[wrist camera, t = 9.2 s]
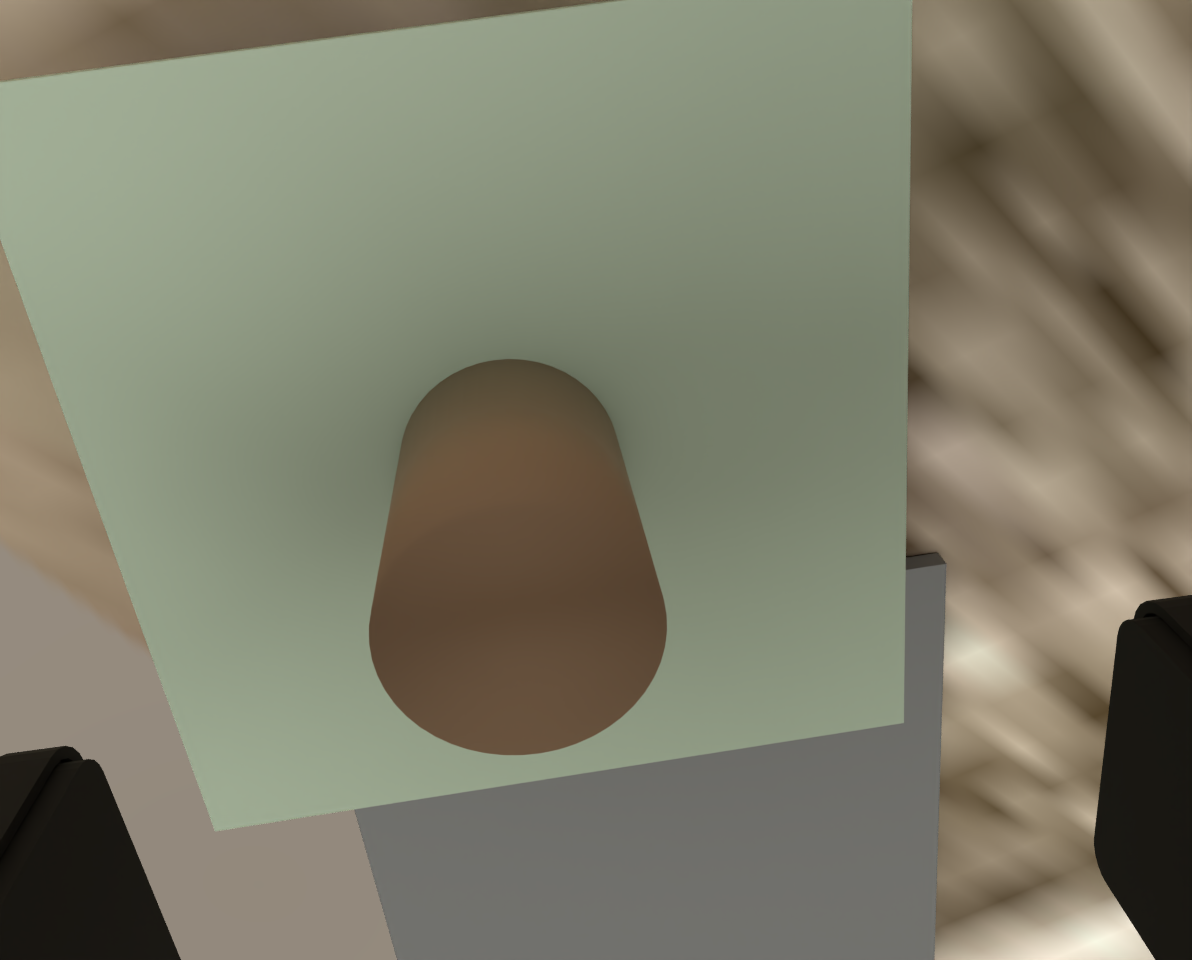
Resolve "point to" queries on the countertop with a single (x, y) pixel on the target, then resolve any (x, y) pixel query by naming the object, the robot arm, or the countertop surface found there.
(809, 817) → the mat
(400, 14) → the countertop surface
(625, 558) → the lid
